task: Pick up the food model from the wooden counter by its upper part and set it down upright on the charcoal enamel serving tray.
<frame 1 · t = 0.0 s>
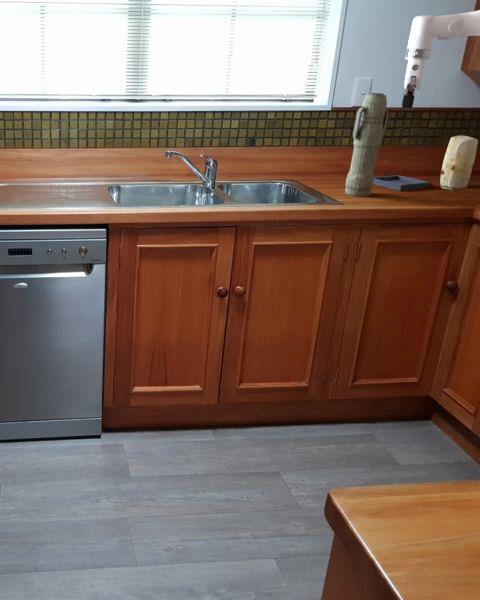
hand: (406, 106, 216), 30 cm above the table, tool pointing down, fingers open, 9 cm apart
tray: (398, 185, 237), on the table
food model: (451, 190, 231), on the table
thermos: (357, 194, 223), on the table
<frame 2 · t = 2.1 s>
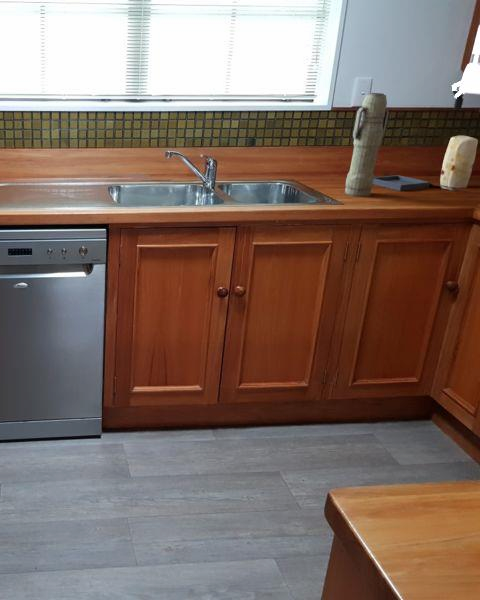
hand: (469, 110, 220), 29 cm above the table, tool pointing down, fingers open, 9 cm apart
nothing on the table moved.
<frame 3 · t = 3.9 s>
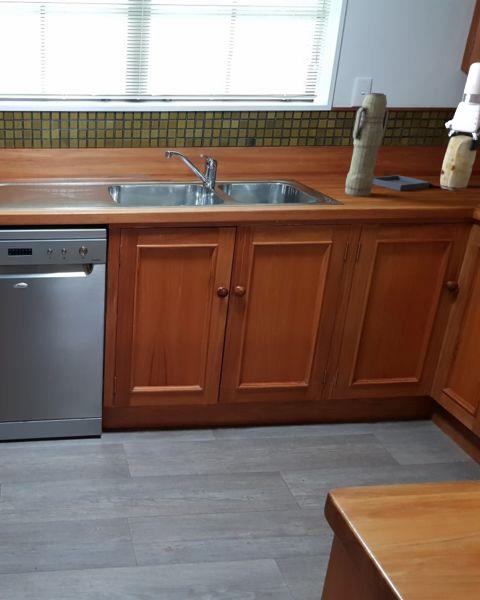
hand: (461, 148, 225), 16 cm above the table, tool pointing down, fingers closed on food model, 8 cm apart
food model: (451, 190, 231), on the table, touching gripper
everything else where it was.
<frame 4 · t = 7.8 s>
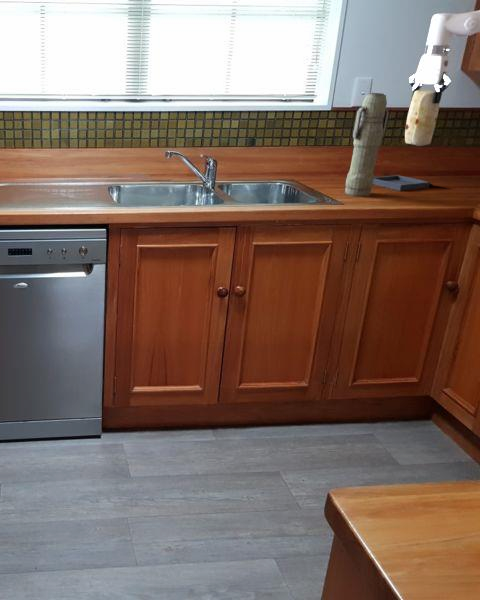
hand: (425, 102, 224), 31 cm above the table, tool pointing down, fingers closed on food model, 8 cm apart
food model: (415, 145, 230), point 16 cm above the table, touching gripper
everything else where it was.
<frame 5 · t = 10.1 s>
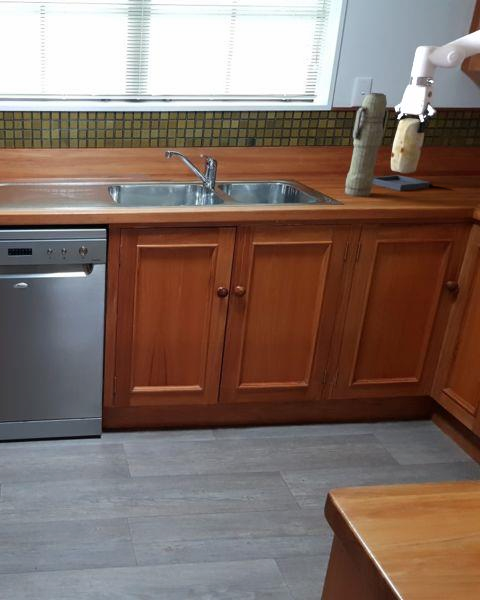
hand: (410, 131, 229), 21 cm above the table, tool pointing down, fingers closed on food model, 8 cm apart
food model: (401, 172, 235), point 5 cm above the table, touching gripper
everything else where it was.
when the fingers open (16 cm above the table, at t = 11.8 s): food model stays where it is, resting on tray.
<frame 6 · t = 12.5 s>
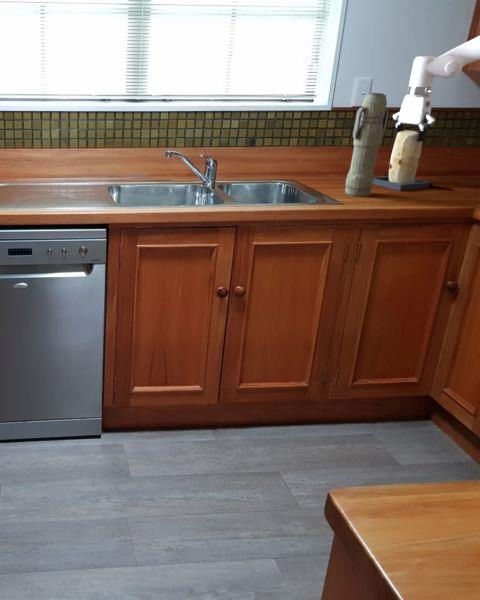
hand: (408, 139, 230), 18 cm above the table, tool pointing down, fingers open, 9 cm apart
food model: (399, 184, 237), point 1 cm above the table, touching tray
everything else where it was.
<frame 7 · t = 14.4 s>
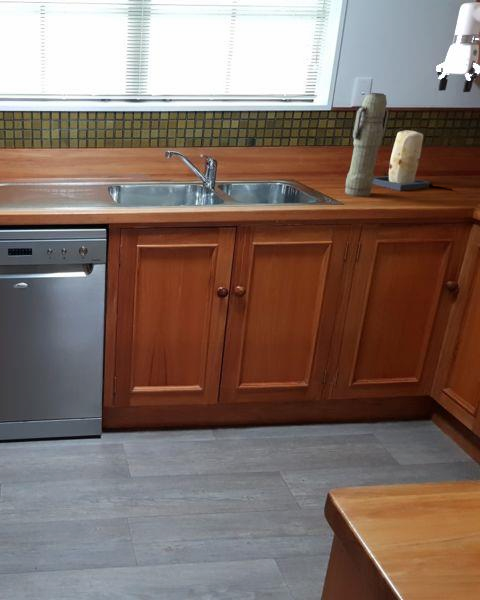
hand: (453, 91, 224), 35 cm above the table, tool pointing down, fingers open, 9 cm apart
nothing on the table moved.
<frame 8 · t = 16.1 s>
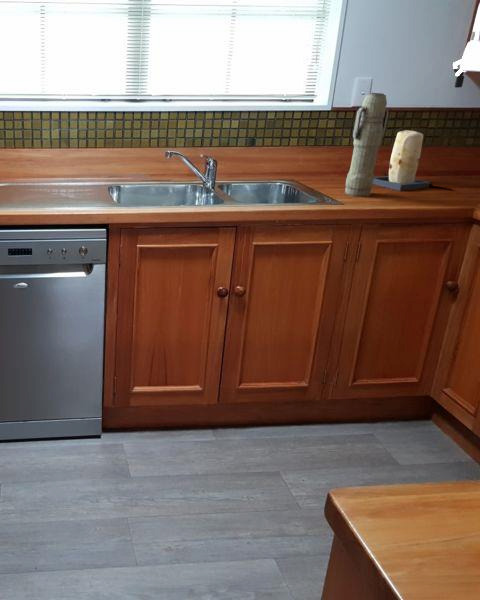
hand: (470, 88, 224), 36 cm above the table, tool pointing down, fingers open, 9 cm apart
nothing on the table moved.
at the end: food model inside the target area in the tray (0.3 cm from its centre), point 0.6 cm above the tray's base; food model tilted 0°; the gripper is holding nothing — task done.
